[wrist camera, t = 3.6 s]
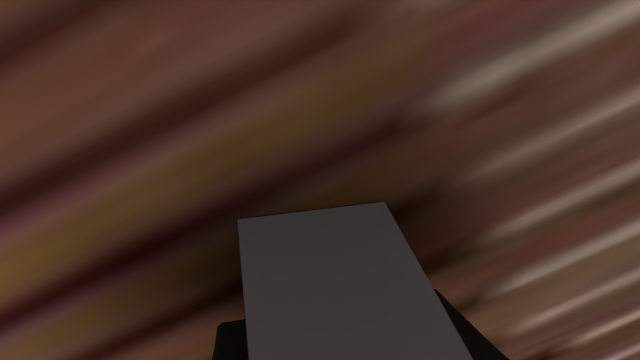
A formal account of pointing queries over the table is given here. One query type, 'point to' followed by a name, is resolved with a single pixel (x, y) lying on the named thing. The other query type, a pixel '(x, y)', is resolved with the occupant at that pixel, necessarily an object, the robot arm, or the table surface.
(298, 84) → the table surface
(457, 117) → the table surface
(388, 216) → the square peg
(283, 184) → the table surface
